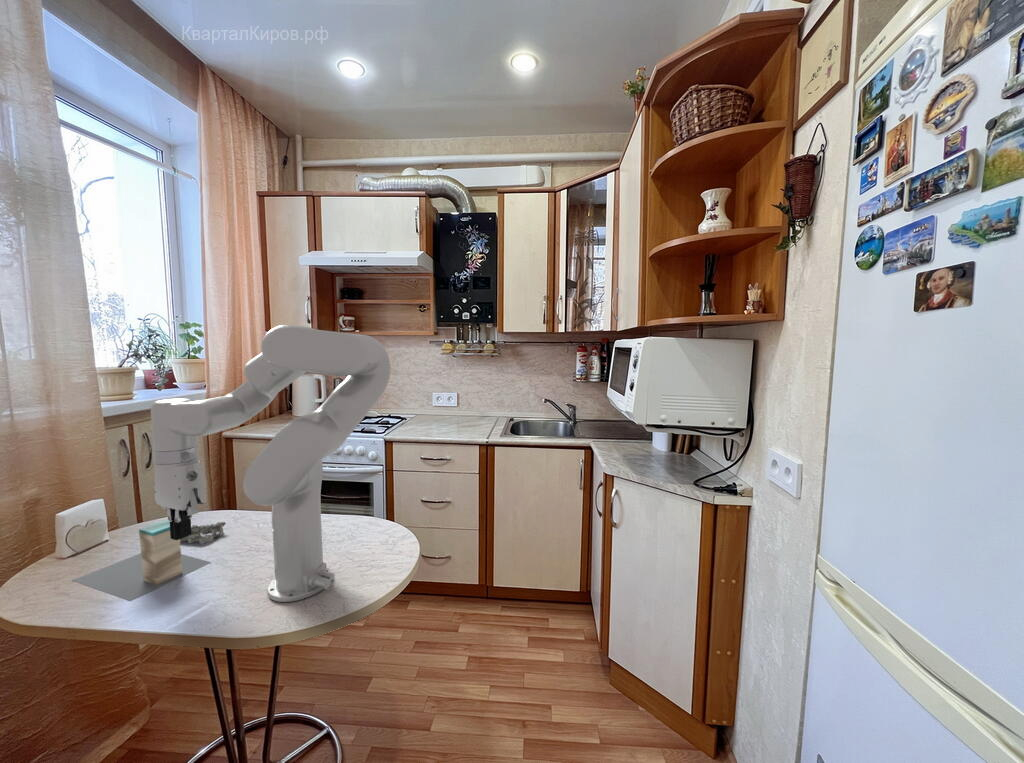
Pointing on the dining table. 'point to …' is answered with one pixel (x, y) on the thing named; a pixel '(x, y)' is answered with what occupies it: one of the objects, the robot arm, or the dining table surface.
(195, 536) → the grey jagged stone ring
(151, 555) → the birch block
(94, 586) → the rubber mat
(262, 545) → the dining table surface
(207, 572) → the dining table surface
